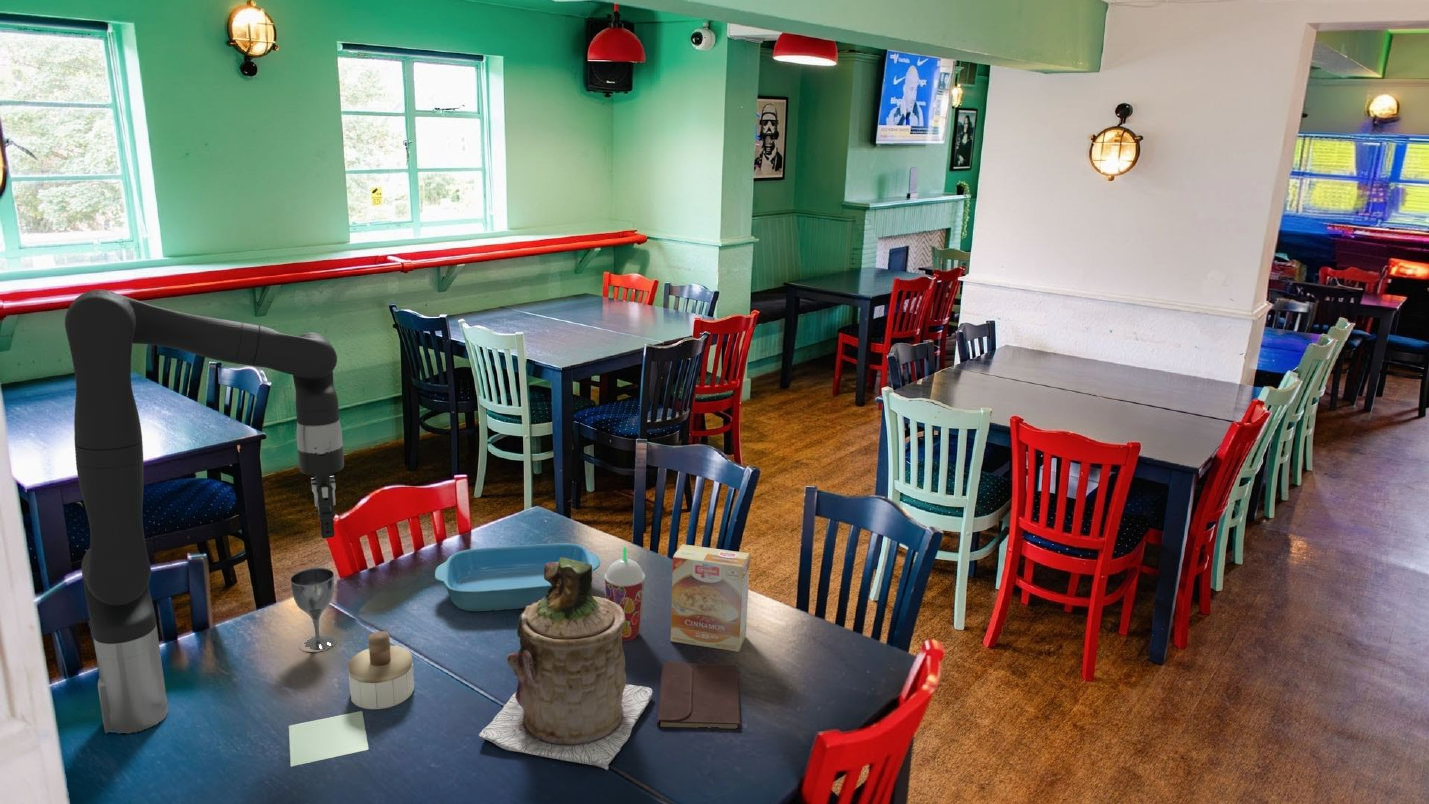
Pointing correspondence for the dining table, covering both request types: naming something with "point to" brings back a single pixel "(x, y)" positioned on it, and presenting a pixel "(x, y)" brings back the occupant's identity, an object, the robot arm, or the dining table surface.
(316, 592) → the wine glass
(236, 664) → the dining table surface
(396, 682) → the bowl
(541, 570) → the casserole dish
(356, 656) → the lid
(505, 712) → the cookie jar
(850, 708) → the dining table surface
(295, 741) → the mat
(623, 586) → the smoothie
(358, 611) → the dining table surface
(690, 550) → the coffeecake box
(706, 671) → the notebook
